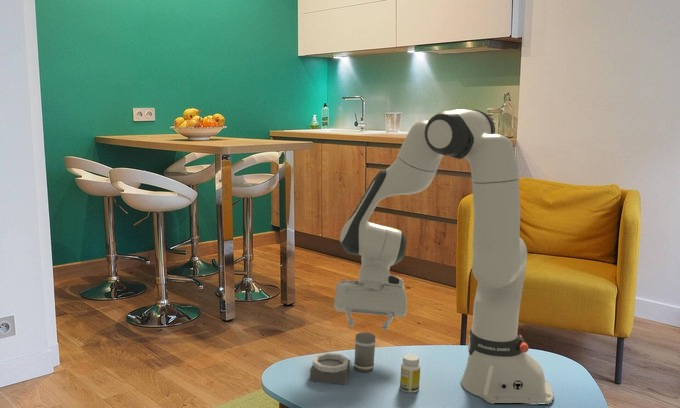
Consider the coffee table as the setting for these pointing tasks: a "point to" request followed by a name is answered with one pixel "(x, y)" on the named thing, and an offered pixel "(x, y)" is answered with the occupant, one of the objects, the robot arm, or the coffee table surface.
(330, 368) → the octagonal ring tray
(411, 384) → the supplement bottle
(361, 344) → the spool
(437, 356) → the coffee table surface
